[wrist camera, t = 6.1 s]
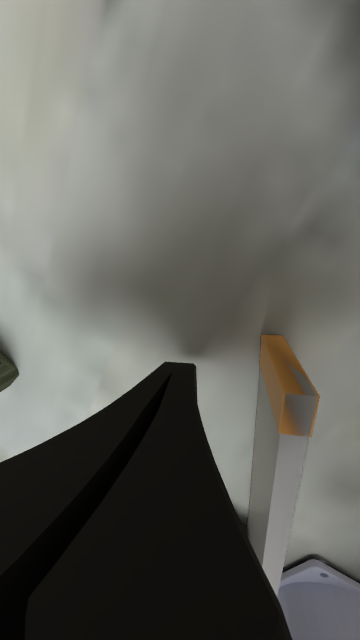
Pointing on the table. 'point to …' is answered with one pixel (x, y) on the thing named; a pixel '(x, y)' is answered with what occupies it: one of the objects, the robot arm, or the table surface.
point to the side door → (278, 452)
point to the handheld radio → (7, 373)
